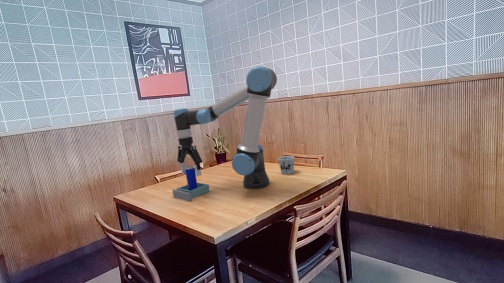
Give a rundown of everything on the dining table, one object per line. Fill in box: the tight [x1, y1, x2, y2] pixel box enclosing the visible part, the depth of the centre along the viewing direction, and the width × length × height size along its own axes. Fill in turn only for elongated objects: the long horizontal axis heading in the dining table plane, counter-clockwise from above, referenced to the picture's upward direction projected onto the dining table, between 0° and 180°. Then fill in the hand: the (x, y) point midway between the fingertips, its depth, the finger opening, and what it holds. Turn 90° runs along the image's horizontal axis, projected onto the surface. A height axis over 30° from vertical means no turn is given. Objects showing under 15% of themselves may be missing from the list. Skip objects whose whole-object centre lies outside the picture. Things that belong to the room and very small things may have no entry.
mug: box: [277, 155, 295, 175], centre depth 176 cm, size 10×15×10 cm
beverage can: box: [185, 164, 198, 191], centre depth 154 cm, size 5×5×15 cm
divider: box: [172, 188, 193, 202], centre depth 148 cm, size 16×1×4 cm, turn 47°
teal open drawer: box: [176, 181, 210, 199], centre depth 155 cm, size 13×13×4 cm
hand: (191, 174), depth 154 cm, fingers open, 13 cm apart
